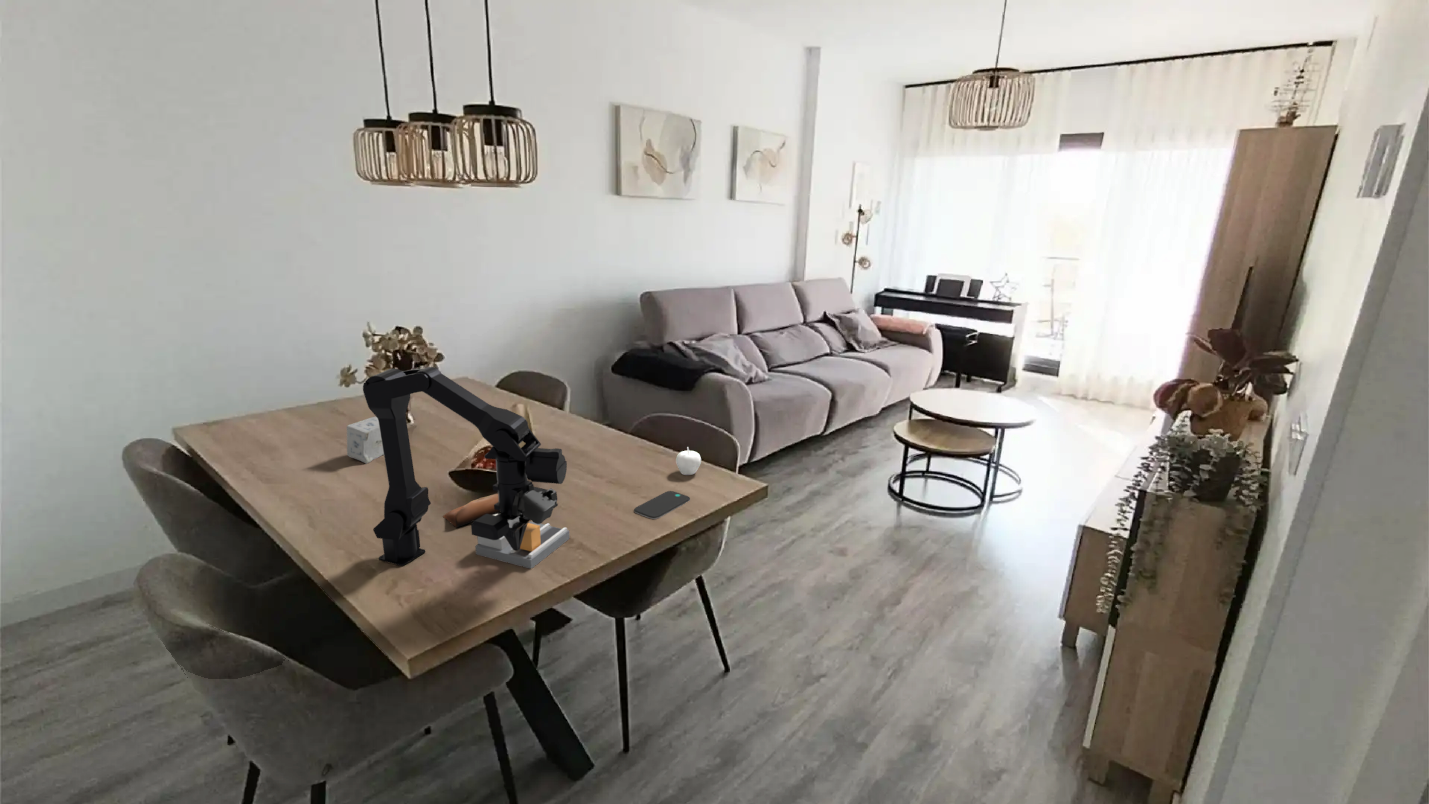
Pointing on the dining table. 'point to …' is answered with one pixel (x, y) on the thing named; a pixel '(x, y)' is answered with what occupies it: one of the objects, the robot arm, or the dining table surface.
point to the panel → (528, 559)
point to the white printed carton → (364, 440)
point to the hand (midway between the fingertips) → (516, 549)
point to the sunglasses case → (472, 511)
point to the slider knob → (531, 538)
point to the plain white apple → (688, 462)
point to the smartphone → (661, 505)
